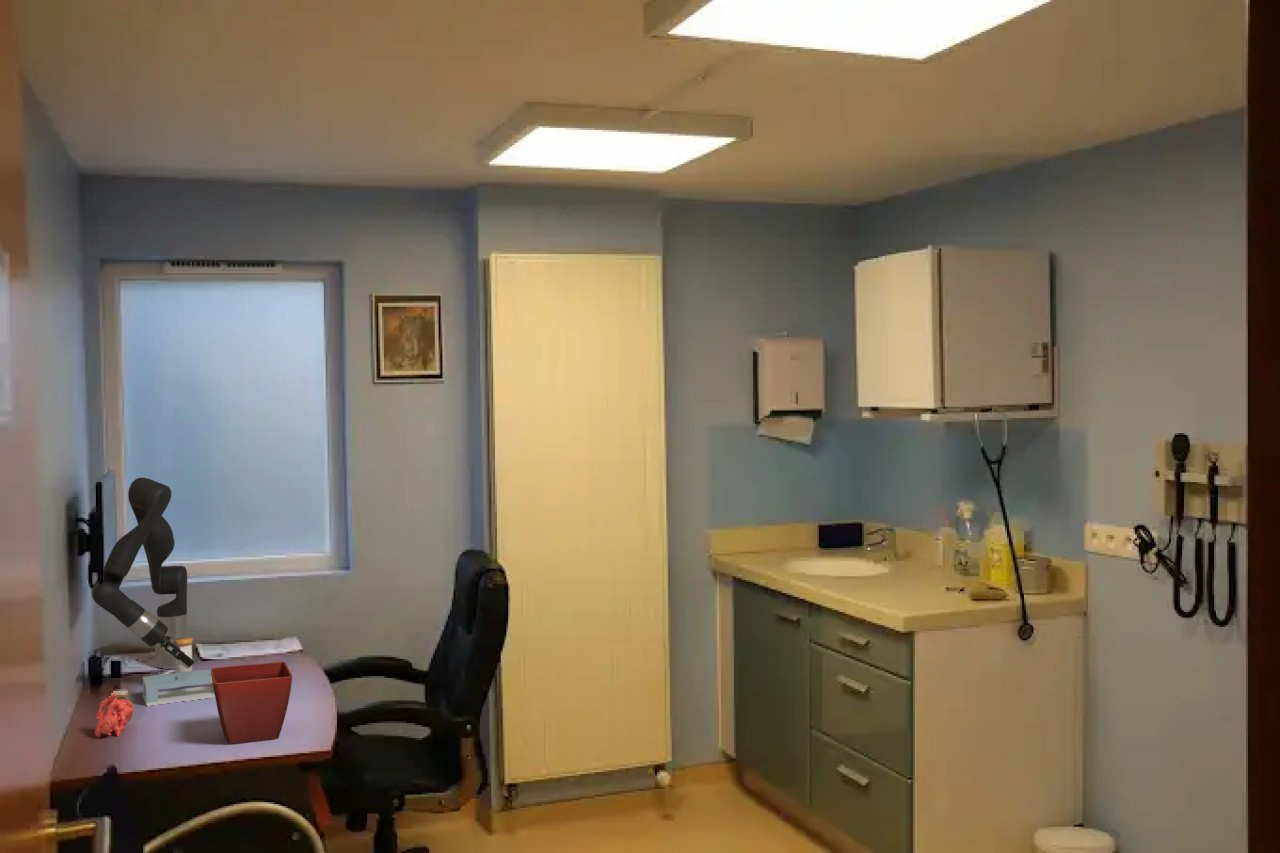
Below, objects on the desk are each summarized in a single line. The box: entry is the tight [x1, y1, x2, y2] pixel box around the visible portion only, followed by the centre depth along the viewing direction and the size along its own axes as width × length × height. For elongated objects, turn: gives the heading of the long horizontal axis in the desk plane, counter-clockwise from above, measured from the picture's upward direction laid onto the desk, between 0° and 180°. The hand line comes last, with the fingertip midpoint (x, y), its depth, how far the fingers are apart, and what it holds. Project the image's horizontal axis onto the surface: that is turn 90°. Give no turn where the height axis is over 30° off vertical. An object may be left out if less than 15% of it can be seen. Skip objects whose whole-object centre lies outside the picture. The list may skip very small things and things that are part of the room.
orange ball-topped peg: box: [175, 637, 194, 673], centre depth 355 cm, size 5×5×14 cm
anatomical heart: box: [94, 692, 134, 738], centre depth 305 cm, size 9×12×12 cm
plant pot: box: [210, 661, 293, 744], centre depth 302 cm, size 19×19×17 cm
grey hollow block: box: [142, 668, 215, 707], centre depth 342 cm, size 22×12×6 cm, turn 118°
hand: (190, 662), depth 356 cm, fingers closed on orange ball-topped peg, 4 cm apart
